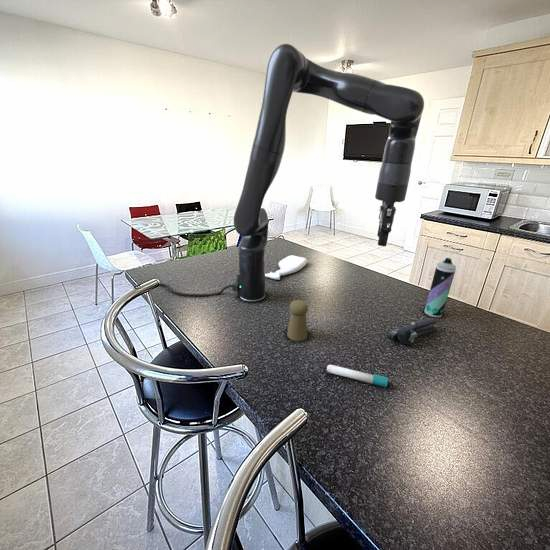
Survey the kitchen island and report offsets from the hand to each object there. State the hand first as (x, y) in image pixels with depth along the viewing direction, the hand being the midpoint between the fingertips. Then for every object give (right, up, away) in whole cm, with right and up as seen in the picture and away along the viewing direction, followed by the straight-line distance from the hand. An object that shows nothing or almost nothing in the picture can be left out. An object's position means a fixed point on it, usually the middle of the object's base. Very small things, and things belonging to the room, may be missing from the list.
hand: (381, 241), depth 82 cm
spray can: (+24, -23, +17) cm, 37 cm away
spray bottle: (-25, -8, +48) cm, 55 cm away
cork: (-24, -28, +4) cm, 36 cm away
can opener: (+12, -28, +5) cm, 31 cm away
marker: (-11, -35, -12) cm, 38 cm away
